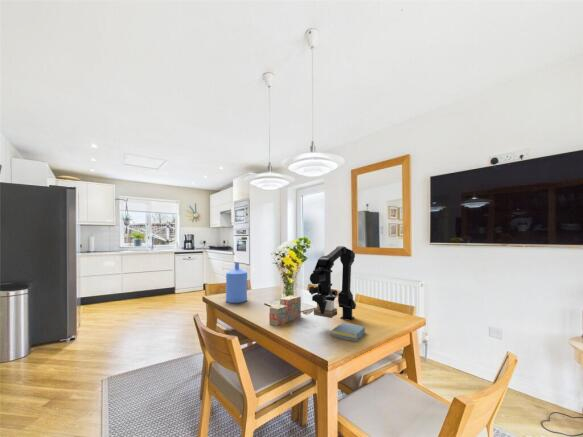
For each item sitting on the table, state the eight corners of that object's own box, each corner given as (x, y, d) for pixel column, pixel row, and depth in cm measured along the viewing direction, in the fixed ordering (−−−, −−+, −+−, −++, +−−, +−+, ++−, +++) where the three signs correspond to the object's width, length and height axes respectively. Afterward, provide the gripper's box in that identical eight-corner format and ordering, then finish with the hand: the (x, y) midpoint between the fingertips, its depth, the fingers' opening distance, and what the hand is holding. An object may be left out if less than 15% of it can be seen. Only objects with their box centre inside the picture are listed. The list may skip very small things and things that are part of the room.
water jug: (250, 301, 195) (250, 263, 197) (229, 304, 187) (229, 264, 189) (242, 297, 209) (243, 261, 210) (223, 299, 201) (223, 262, 202)
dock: (342, 328, 139) (342, 322, 139) (365, 332, 132) (365, 326, 133) (331, 336, 128) (331, 330, 128) (355, 341, 121) (355, 335, 121)
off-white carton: (327, 307, 139) (327, 300, 140) (334, 309, 137) (334, 301, 138) (323, 309, 136) (323, 301, 136) (331, 310, 134) (330, 302, 134)
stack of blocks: (277, 326, 142) (277, 303, 143) (269, 324, 146) (269, 301, 147) (300, 316, 159) (300, 296, 160) (292, 315, 163) (292, 294, 164)
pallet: (319, 311, 143) (319, 305, 143) (337, 314, 138) (337, 308, 138) (313, 314, 137) (313, 308, 137) (331, 318, 132) (331, 311, 132)
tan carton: (320, 306, 142) (320, 299, 142) (327, 307, 139) (327, 300, 140) (316, 308, 138) (316, 300, 138) (323, 309, 136) (323, 301, 136)
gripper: (319, 278, 151) (319, 306, 150) (302, 282, 135) (303, 314, 134) (337, 279, 145) (338, 308, 144) (322, 285, 129) (322, 317, 128)
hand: (325, 312), depth 138 cm, fingers closed on pallet, 7 cm apart
